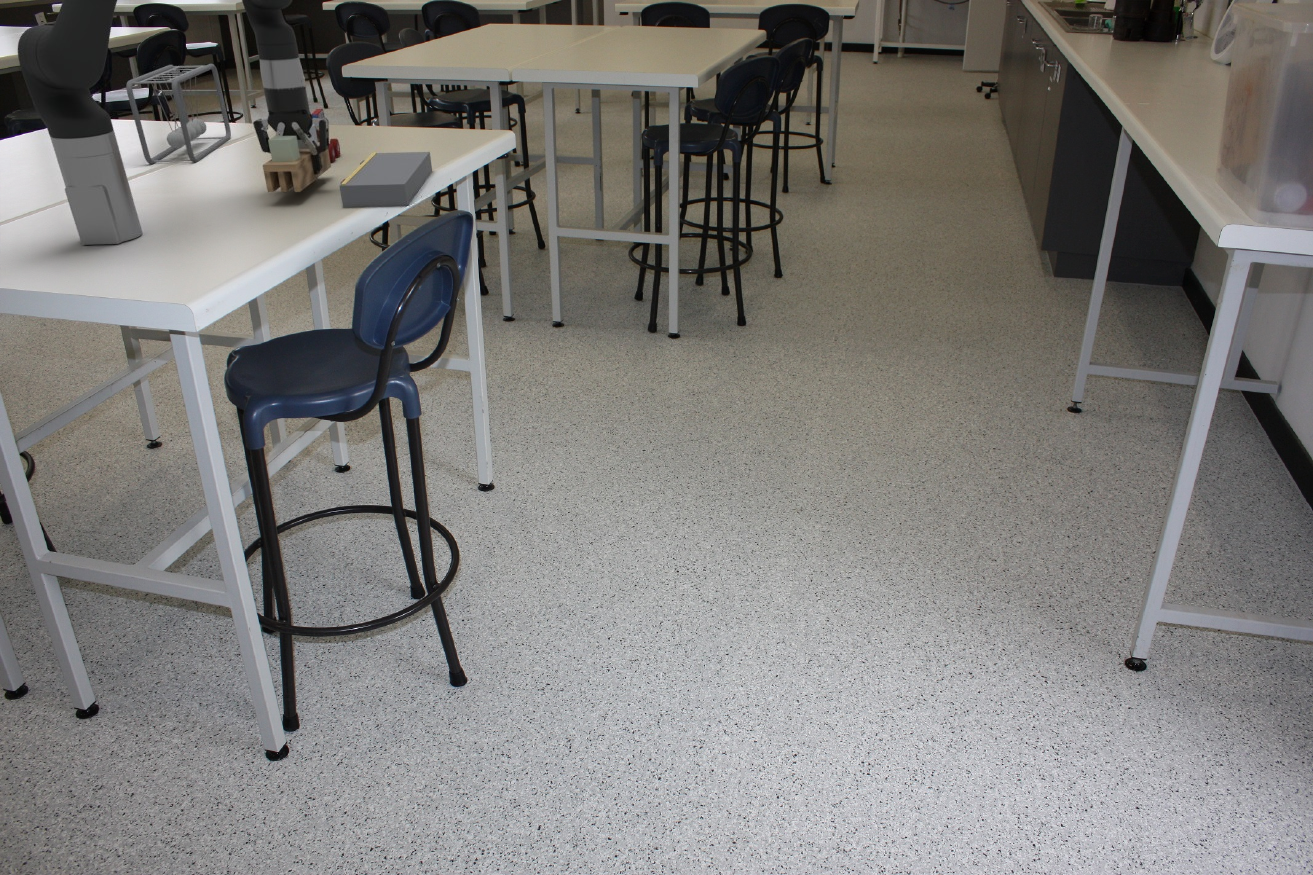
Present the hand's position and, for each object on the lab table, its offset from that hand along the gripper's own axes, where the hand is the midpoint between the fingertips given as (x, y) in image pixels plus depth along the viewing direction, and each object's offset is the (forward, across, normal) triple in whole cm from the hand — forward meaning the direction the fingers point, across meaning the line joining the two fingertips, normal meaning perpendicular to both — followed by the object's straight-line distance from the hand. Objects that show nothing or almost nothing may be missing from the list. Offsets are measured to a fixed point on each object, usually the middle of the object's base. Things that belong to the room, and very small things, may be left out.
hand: (300, 173), depth 187 cm
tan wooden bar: (+1, 0, 0) cm, 1 cm away
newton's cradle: (+3, -38, +41) cm, 56 cm away
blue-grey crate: (-4, 0, +6) cm, 7 cm away
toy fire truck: (+3, -4, +28) cm, 29 cm away
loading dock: (+3, +17, 0) cm, 17 cm away
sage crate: (-4, 0, -6) cm, 7 cm away
